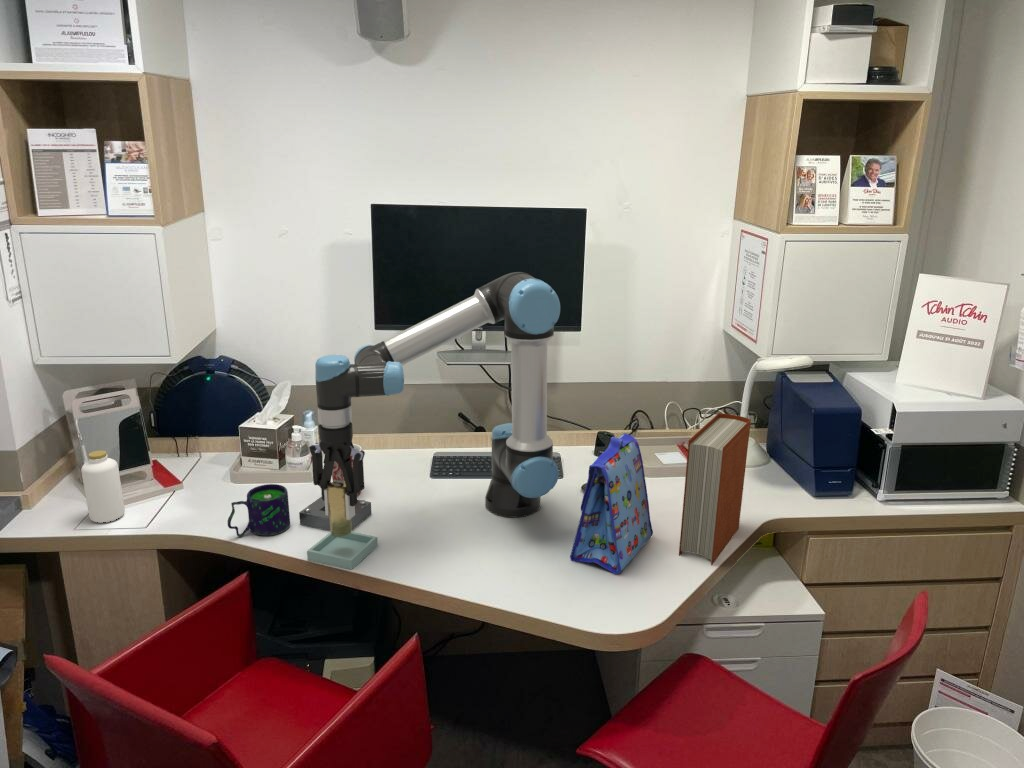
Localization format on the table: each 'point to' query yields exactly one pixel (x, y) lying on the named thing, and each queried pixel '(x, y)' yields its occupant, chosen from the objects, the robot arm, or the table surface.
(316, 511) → the housing
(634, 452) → the lunch bag
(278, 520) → the mug
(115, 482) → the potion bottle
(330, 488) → the brass cylinder
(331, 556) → the tray
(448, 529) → the table surface
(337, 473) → the mug
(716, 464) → the book
